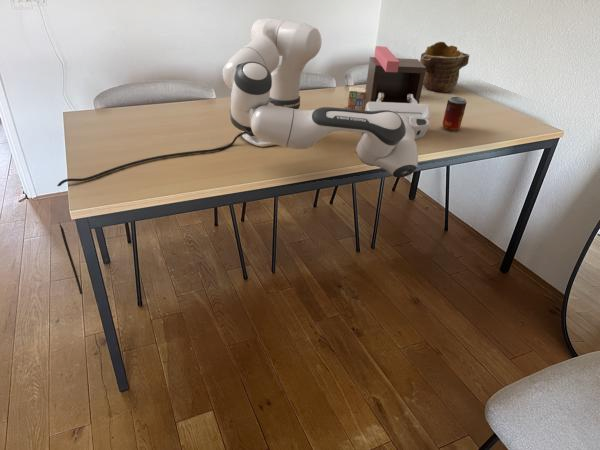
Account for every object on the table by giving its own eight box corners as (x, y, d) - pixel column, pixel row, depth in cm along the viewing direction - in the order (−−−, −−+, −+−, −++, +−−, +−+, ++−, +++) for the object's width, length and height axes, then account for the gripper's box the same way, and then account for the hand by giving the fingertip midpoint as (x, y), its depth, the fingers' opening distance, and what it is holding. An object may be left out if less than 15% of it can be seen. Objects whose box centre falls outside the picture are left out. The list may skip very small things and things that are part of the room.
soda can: (445, 124, 185) (452, 94, 178) (461, 128, 181) (470, 98, 174) (438, 128, 180) (445, 98, 173) (455, 133, 177) (463, 103, 170)
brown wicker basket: (457, 84, 205) (437, 32, 203) (417, 105, 225) (398, 58, 223) (483, 76, 217) (464, 27, 216) (443, 96, 237) (425, 52, 236)
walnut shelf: (412, 137, 171) (426, 67, 156) (365, 135, 170) (375, 65, 155) (404, 125, 181) (417, 59, 166) (360, 124, 180) (369, 57, 165)
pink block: (397, 72, 149) (399, 61, 147) (385, 71, 149) (387, 61, 147) (384, 56, 167) (386, 46, 165) (374, 55, 167) (375, 46, 165)
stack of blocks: (346, 112, 190) (350, 83, 183) (346, 107, 195) (350, 79, 189) (397, 116, 189) (402, 87, 182) (396, 111, 194) (401, 83, 187)
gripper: (364, 134, 140) (361, 100, 146) (428, 136, 141) (422, 102, 147) (368, 121, 134) (365, 86, 140) (434, 123, 135) (429, 89, 142)
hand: (395, 94), depth 144 cm, fingers open, 8 cm apart
